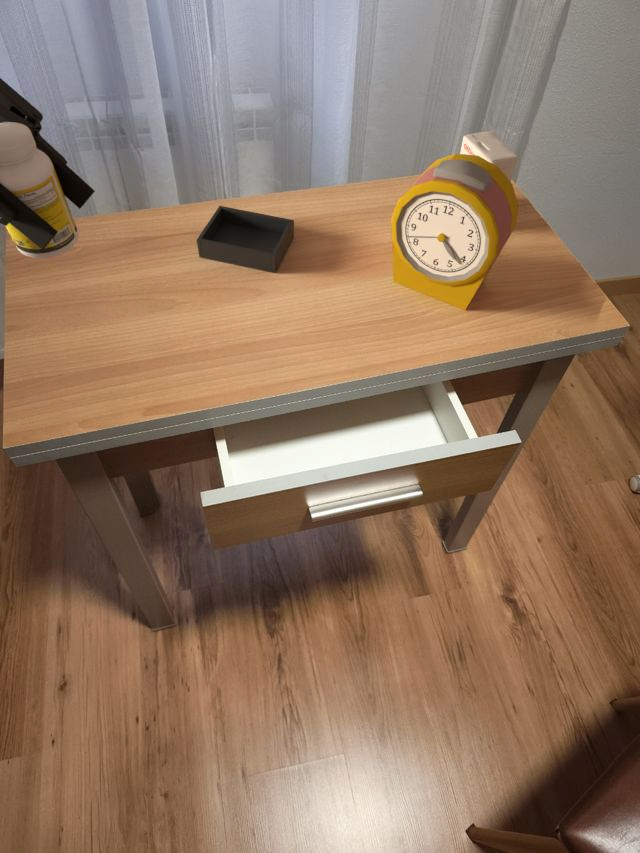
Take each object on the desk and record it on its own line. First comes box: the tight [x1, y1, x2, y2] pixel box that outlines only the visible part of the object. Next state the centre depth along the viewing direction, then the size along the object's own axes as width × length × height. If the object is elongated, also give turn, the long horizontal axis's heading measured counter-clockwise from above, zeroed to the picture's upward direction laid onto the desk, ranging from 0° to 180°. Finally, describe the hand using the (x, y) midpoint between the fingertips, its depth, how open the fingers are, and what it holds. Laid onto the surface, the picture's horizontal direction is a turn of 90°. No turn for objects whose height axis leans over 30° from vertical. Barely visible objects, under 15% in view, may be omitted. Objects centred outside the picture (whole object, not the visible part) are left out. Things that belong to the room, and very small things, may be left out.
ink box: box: [459, 130, 519, 183], centre depth 90 cm, size 9×5×12 cm, turn 21°
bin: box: [196, 205, 295, 274], centre depth 86 cm, size 12×9×3 cm
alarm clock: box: [390, 153, 519, 311], centre depth 77 cm, size 15×8×18 cm, turn 60°
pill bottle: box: [0, 122, 79, 260], centre depth 54 cm, size 6×6×11 cm
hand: (69, 219), depth 55 cm, fingers closed on pill bottle, 6 cm apart
